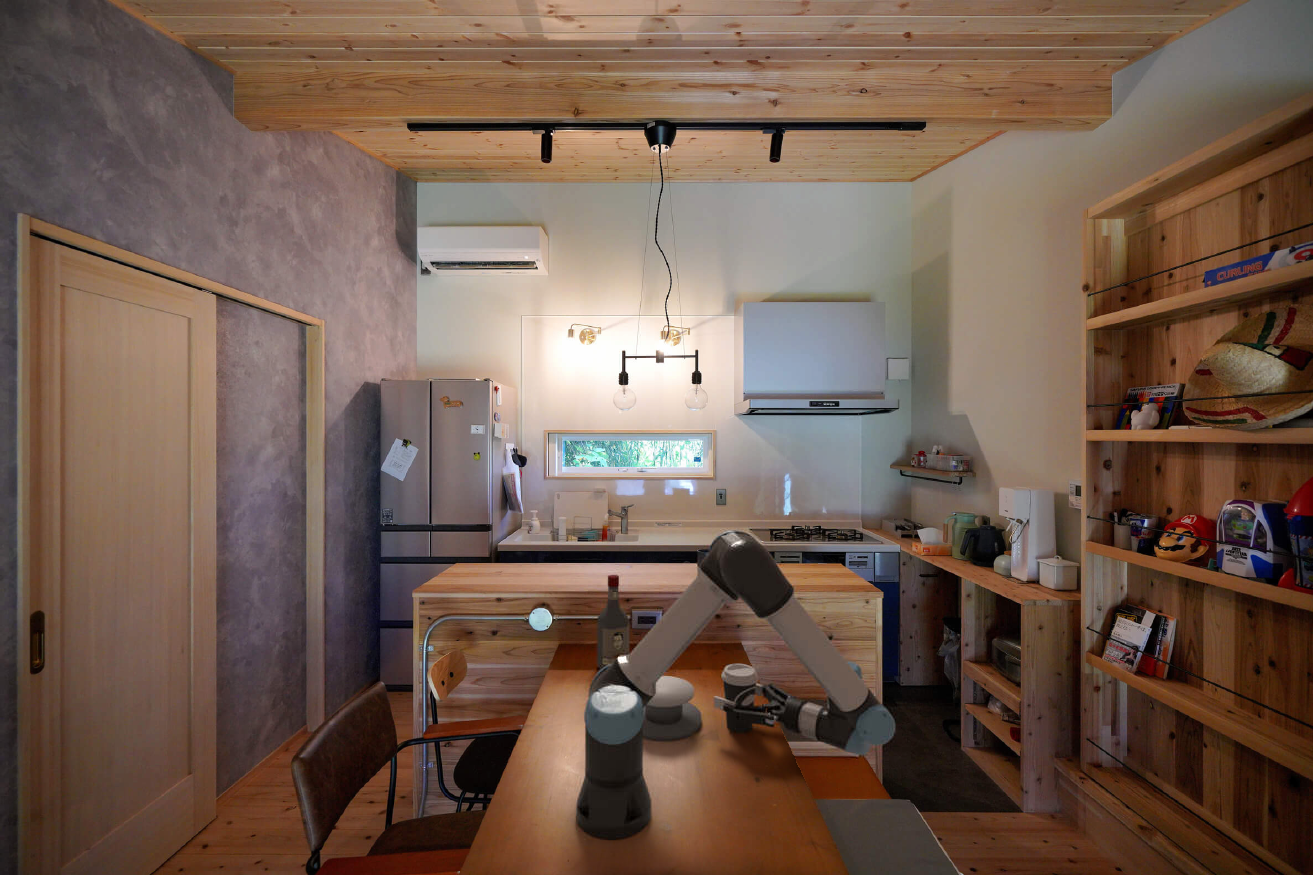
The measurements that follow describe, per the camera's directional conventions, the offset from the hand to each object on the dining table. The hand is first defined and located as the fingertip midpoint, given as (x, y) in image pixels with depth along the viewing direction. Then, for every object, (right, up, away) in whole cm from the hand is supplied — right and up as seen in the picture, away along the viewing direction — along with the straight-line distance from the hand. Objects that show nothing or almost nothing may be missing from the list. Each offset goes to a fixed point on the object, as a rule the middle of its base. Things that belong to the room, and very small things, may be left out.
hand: (727, 692), depth 150 cm
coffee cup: (+3, -8, -2) cm, 9 cm away
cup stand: (-17, -8, +1) cm, 19 cm away
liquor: (-33, -8, +35) cm, 49 cm away
